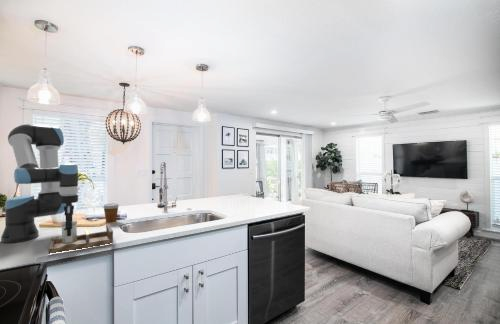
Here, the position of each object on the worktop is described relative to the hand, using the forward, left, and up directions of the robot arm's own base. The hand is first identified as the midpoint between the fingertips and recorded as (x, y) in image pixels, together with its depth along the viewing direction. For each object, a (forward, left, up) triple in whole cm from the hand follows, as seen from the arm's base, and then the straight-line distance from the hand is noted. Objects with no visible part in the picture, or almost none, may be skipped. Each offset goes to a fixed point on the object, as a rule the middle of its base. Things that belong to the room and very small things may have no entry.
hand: (69, 240), depth 123 cm
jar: (0, 0, -1) cm, 1 cm away
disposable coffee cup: (+22, +42, -4) cm, 48 cm away
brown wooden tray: (+5, 0, -3) cm, 6 cm away
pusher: (+7, 0, -2) cm, 8 cm away
